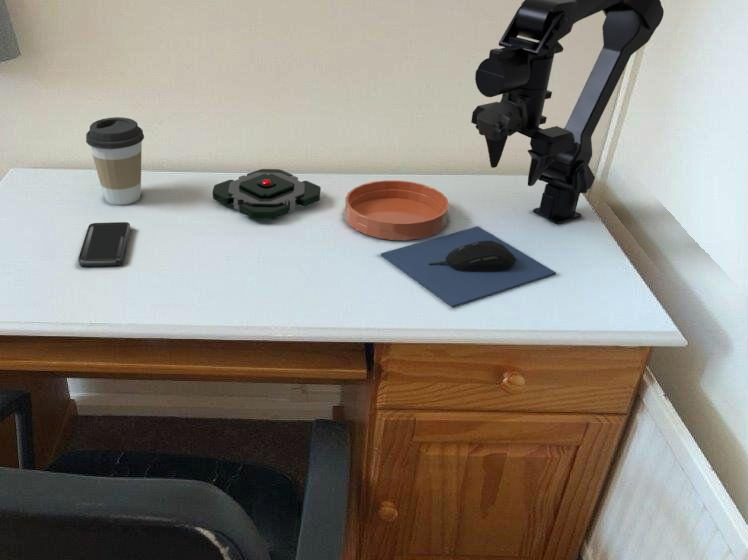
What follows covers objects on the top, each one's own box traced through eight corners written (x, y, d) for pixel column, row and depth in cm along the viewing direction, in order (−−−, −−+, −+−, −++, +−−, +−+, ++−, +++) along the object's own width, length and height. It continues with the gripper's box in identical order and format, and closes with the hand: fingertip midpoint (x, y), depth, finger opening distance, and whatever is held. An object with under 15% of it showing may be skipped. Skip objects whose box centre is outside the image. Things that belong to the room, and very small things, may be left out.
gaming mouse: (425, 256, 136) (428, 235, 134) (508, 254, 136) (513, 233, 134) (432, 273, 131) (435, 252, 129) (519, 271, 131) (524, 250, 129)
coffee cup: (121, 182, 165) (112, 111, 156) (162, 194, 159) (155, 122, 150) (83, 201, 158) (71, 128, 148) (123, 214, 152) (114, 139, 143)
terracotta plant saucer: (406, 190, 159) (407, 173, 157) (467, 226, 146) (470, 209, 143) (325, 209, 152) (326, 192, 150) (382, 250, 139) (384, 232, 137)
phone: (77, 261, 135) (89, 222, 147) (78, 267, 135) (90, 228, 147) (122, 260, 135) (131, 221, 147) (123, 265, 136) (131, 227, 147)
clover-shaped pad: (204, 200, 157) (203, 178, 154) (270, 176, 166) (270, 155, 163) (262, 229, 146) (261, 207, 143) (329, 202, 155) (330, 180, 152)
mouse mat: (477, 228, 145) (477, 226, 145) (555, 274, 131) (556, 272, 131) (380, 255, 137) (380, 253, 137) (452, 307, 123) (452, 305, 123)
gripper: (452, 77, 129) (441, 167, 138) (533, 109, 116) (513, 206, 125) (504, 67, 133) (489, 155, 142) (587, 97, 120) (564, 191, 129)
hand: (511, 176), depth 135 cm, fingers open, 9 cm apart
